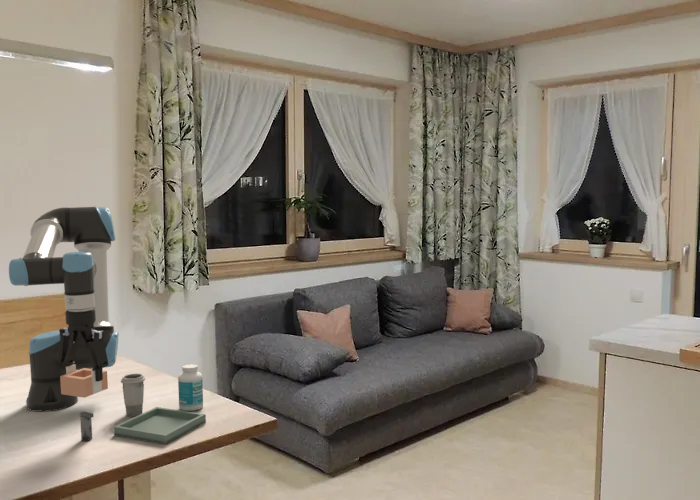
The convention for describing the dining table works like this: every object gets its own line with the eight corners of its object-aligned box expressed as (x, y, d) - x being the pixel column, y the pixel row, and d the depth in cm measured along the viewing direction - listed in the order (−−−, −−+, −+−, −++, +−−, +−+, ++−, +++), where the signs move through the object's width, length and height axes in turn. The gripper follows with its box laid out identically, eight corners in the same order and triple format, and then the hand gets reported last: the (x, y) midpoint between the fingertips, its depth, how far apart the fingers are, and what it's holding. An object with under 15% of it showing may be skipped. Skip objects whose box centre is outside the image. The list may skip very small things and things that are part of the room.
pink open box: (61, 394, 174) (60, 376, 173) (89, 383, 183) (88, 366, 182) (84, 397, 170) (83, 379, 170) (112, 386, 179) (111, 369, 179)
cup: (123, 419, 192) (122, 380, 191) (120, 412, 198) (119, 375, 197) (148, 415, 195) (146, 377, 194) (144, 409, 201) (142, 371, 200)
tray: (114, 435, 179) (113, 426, 179) (157, 414, 196) (156, 406, 196) (165, 444, 172) (165, 435, 172) (205, 422, 189) (205, 414, 189)
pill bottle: (197, 412, 197) (195, 369, 196) (174, 411, 199) (173, 368, 198) (207, 404, 205) (205, 363, 203) (185, 403, 206) (184, 362, 205)
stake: (79, 440, 176) (77, 414, 175) (86, 436, 179) (85, 410, 178) (89, 442, 175) (87, 415, 174) (96, 438, 177) (95, 412, 176)
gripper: (40, 309, 174) (44, 390, 176) (99, 314, 166) (103, 399, 168) (62, 304, 181) (66, 382, 183) (120, 309, 173) (124, 390, 175)
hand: (84, 390), depth 176 cm, fingers closed on pink open box, 8 cm apart
